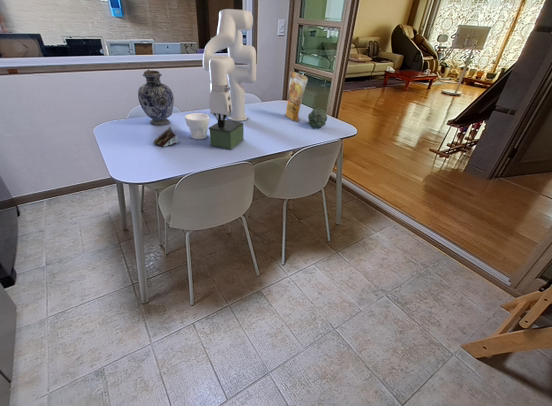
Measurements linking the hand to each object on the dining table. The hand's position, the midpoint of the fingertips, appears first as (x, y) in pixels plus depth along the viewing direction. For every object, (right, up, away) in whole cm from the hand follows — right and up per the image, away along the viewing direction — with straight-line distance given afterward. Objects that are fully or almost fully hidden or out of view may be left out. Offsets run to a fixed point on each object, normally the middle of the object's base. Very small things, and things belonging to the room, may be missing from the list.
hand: (221, 127), depth 142 cm
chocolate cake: (-28, -8, +4) cm, 29 cm away
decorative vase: (-43, +10, +29) cm, 53 cm away
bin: (+1, -6, +10) cm, 11 cm away
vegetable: (+51, +11, +41) cm, 67 cm away
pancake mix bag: (+38, +20, +53) cm, 68 cm away
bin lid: (+2, +1, +4) cm, 5 cm away
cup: (-15, -1, +15) cm, 21 cm away
